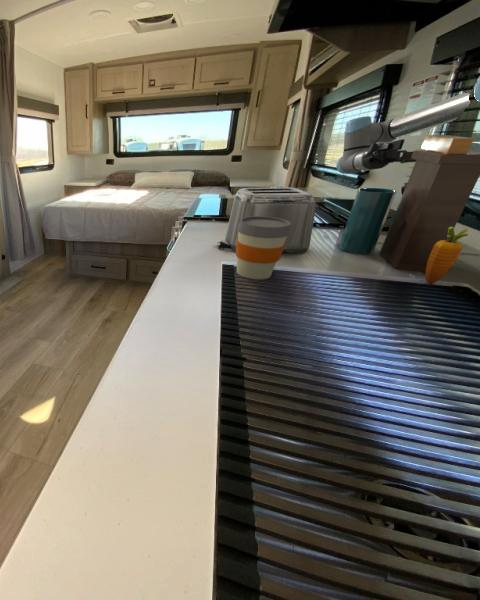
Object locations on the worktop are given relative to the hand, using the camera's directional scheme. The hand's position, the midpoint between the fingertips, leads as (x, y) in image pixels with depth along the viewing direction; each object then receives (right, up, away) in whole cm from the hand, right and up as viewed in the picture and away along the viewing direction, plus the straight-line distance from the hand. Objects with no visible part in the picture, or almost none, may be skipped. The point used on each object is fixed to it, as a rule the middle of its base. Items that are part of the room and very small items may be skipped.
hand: (425, 147), depth 98 cm
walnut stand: (-6, -34, 0) cm, 35 cm away
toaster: (-40, -27, +17) cm, 51 cm away
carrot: (-13, -41, -13) cm, 45 cm away
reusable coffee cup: (-53, -38, -3) cm, 65 cm away
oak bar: (-6, -5, -9) cm, 12 cm away
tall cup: (-12, -29, +11) cm, 33 cm away
